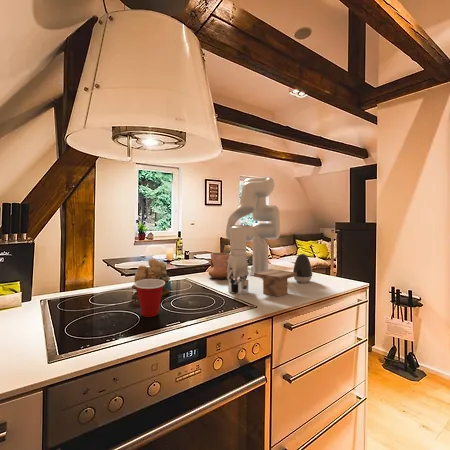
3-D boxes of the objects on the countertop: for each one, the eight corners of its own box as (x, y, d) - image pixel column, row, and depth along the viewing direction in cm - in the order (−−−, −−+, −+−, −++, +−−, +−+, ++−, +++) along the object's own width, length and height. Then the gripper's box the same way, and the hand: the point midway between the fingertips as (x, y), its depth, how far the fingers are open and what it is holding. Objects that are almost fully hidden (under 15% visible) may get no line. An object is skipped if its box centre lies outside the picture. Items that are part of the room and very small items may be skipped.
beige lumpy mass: (163, 289, 140) (163, 255, 139) (176, 294, 131) (176, 257, 130) (127, 296, 128) (127, 258, 128) (138, 302, 119) (138, 261, 119)
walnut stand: (254, 293, 131) (254, 273, 131) (271, 287, 142) (271, 268, 141) (280, 299, 122) (280, 277, 122) (296, 292, 132) (296, 272, 132)
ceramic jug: (239, 278, 164) (239, 253, 164) (219, 281, 155) (218, 255, 155) (221, 274, 178) (221, 251, 178) (201, 276, 170) (201, 253, 170)
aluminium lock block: (228, 291, 135) (228, 279, 135) (235, 289, 139) (235, 277, 138) (242, 295, 129) (242, 281, 129) (249, 292, 133) (249, 280, 132)
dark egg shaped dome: (310, 279, 160) (310, 252, 159) (314, 284, 149) (314, 255, 149) (291, 279, 161) (291, 252, 160) (294, 283, 150) (294, 255, 150)
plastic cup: (137, 322, 96) (137, 286, 96) (132, 312, 106) (131, 280, 106) (169, 316, 101) (168, 283, 101) (161, 308, 111) (160, 277, 111)
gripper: (243, 250, 142) (243, 286, 143) (219, 253, 130) (220, 293, 130) (255, 251, 137) (255, 289, 138) (232, 255, 125) (232, 296, 125)
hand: (238, 290), depth 134 cm, fingers closed on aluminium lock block, 5 cm apart
